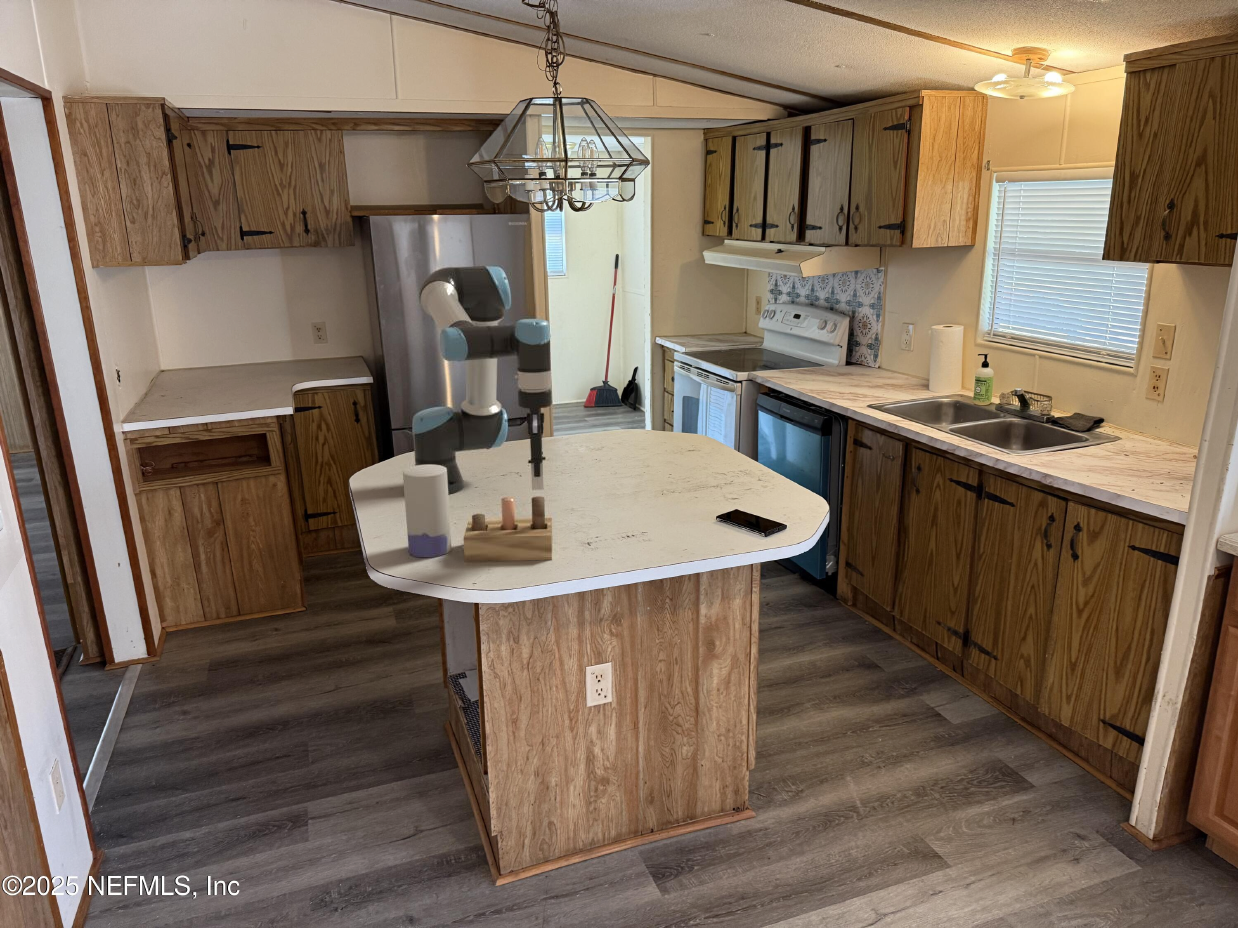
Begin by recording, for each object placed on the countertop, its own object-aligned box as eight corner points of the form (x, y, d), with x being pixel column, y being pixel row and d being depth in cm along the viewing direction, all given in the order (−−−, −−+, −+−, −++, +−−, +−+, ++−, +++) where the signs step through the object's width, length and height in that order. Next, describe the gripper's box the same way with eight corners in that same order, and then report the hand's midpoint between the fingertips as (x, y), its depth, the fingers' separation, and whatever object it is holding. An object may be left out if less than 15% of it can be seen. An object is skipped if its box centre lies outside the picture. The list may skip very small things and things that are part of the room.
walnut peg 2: (532, 528, 205) (531, 496, 203) (545, 528, 205) (544, 496, 203) (532, 532, 202) (531, 500, 200) (545, 532, 202) (544, 500, 200)
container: (454, 542, 210) (449, 463, 205) (448, 557, 201) (442, 475, 195) (413, 542, 210) (407, 464, 205) (404, 558, 200) (398, 476, 195)
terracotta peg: (503, 529, 205) (501, 497, 202) (515, 528, 205) (514, 496, 203) (502, 533, 202) (500, 501, 200) (515, 533, 202) (513, 500, 200)
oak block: (470, 542, 210) (468, 519, 208) (552, 540, 211) (551, 517, 209) (464, 561, 198) (463, 537, 197) (551, 559, 200) (551, 535, 198)
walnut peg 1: (474, 545, 205) (472, 513, 203) (486, 545, 205) (485, 513, 203) (473, 550, 202) (471, 518, 200) (485, 549, 203) (484, 517, 200)
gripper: (519, 384, 200) (522, 481, 207) (516, 394, 188) (520, 497, 194) (551, 383, 201) (554, 480, 207) (550, 394, 188) (553, 497, 195)
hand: (537, 488), depth 201 cm, fingers closed
